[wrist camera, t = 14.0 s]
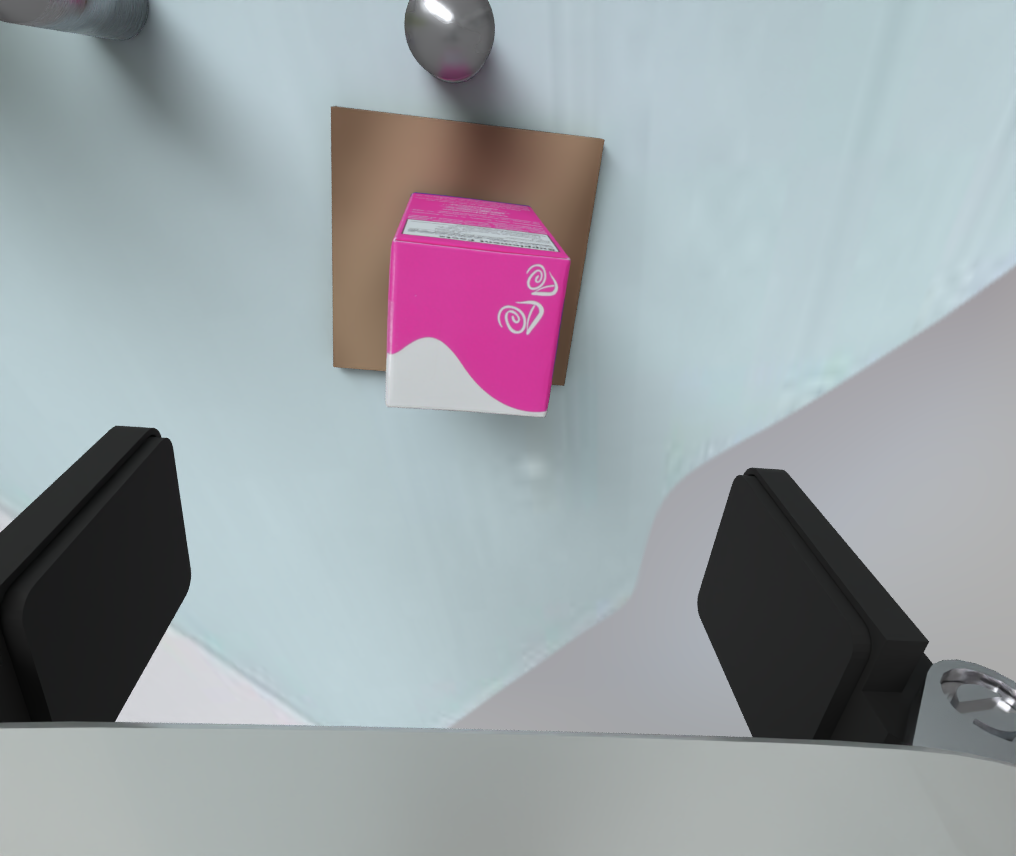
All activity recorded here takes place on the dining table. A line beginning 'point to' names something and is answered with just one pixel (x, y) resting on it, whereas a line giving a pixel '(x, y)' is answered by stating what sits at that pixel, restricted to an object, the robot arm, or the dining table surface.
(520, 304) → the supplement box
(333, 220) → the walnut pad
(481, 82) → the dining table surface
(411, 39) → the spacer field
